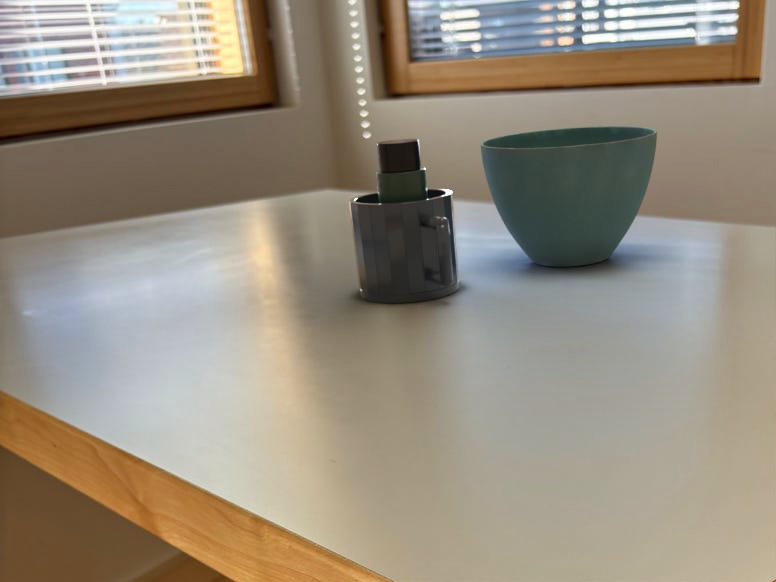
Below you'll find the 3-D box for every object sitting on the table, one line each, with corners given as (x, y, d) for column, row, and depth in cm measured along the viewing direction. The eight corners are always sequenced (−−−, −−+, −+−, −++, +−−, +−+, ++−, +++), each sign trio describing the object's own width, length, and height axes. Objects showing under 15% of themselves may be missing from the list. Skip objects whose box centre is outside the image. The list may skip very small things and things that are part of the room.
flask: (380, 283, 105) (363, 143, 98) (421, 275, 107) (408, 137, 100) (401, 290, 101) (386, 145, 95) (443, 282, 103) (431, 139, 97)
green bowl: (675, 267, 106) (678, 134, 99) (499, 284, 104) (492, 151, 98) (631, 238, 121) (632, 122, 115) (478, 252, 120) (471, 136, 114)
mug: (344, 292, 106) (332, 198, 102) (429, 276, 110) (421, 185, 106) (405, 314, 96) (394, 211, 91) (496, 295, 100) (490, 196, 96)
